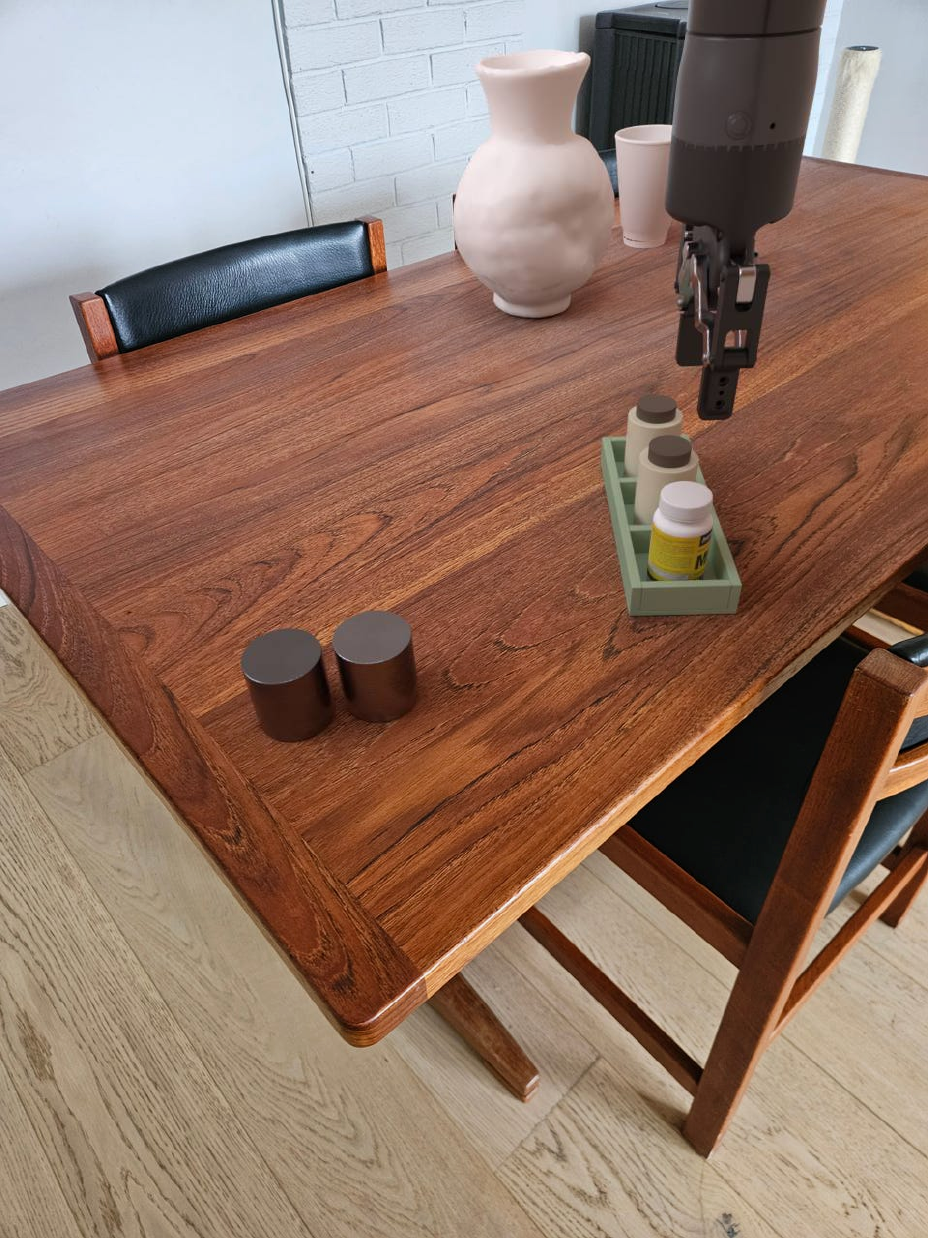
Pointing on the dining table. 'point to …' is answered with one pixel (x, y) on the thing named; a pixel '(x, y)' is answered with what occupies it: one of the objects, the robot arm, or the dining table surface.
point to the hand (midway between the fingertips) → (701, 389)
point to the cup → (643, 183)
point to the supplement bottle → (681, 533)
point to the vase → (533, 187)
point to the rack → (634, 544)
